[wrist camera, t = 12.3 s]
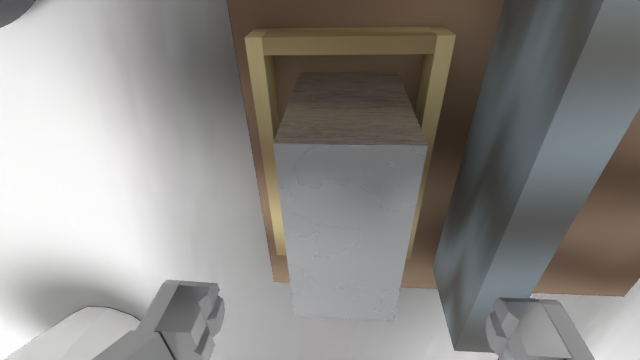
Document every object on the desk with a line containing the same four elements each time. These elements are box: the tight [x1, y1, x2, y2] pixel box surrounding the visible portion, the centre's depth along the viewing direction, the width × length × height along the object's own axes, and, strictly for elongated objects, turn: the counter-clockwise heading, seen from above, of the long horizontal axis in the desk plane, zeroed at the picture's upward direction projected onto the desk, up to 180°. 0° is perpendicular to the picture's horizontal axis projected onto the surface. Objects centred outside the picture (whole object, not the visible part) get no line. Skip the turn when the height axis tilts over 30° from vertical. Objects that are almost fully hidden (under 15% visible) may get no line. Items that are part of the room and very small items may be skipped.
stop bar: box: [273, 72, 428, 321], centre depth 13 cm, size 4×8×6 cm, turn 1°
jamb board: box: [227, 0, 640, 353], centre depth 14 cm, size 20×22×6 cm
